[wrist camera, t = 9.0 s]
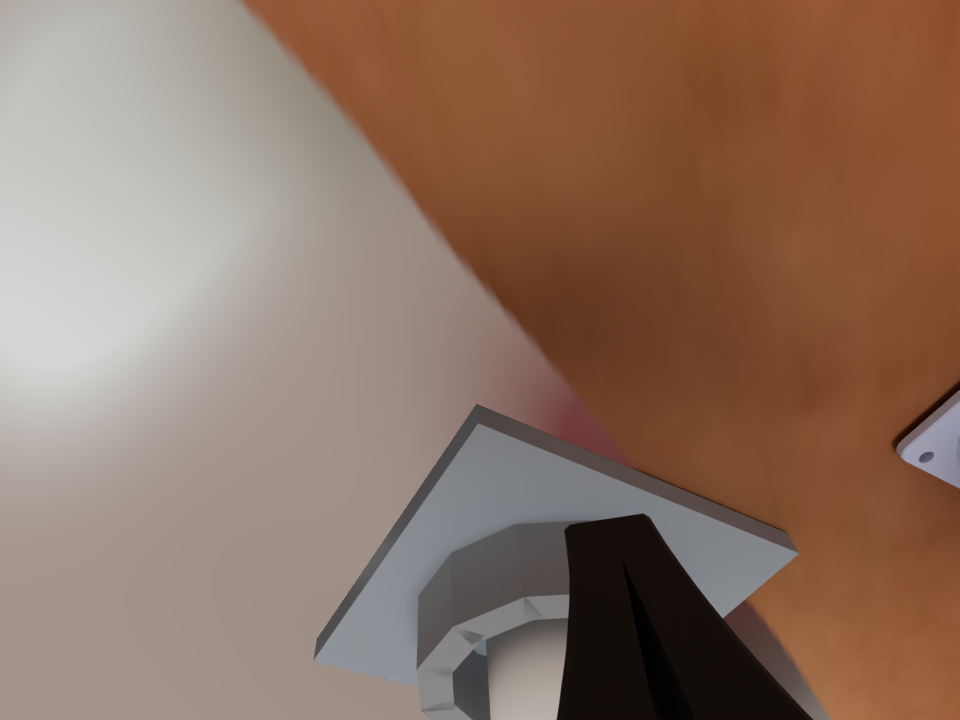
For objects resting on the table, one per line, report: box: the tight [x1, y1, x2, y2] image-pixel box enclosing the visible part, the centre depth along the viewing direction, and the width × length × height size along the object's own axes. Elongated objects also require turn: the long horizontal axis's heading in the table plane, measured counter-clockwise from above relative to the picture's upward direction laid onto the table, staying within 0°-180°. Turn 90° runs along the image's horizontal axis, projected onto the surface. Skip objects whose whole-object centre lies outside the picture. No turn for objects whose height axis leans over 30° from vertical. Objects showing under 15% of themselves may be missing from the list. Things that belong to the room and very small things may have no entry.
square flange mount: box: [313, 404, 799, 720], centre depth 24 cm, size 14×14×4 cm
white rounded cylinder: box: [486, 618, 568, 720], centre depth 23 cm, size 5×5×6 cm
